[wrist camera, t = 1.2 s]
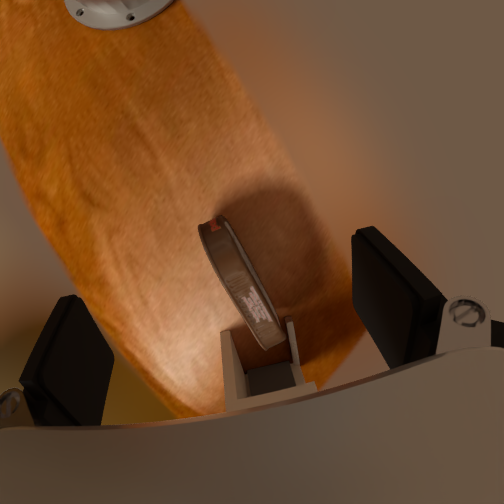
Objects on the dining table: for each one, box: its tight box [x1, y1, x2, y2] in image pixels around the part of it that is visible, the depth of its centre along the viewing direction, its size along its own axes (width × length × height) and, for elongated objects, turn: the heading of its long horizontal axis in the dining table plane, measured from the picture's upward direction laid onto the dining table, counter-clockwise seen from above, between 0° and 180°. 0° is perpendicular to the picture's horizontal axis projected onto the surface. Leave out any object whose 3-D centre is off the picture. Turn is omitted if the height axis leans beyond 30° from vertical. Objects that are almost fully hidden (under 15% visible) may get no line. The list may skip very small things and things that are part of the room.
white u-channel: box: [220, 316, 318, 412], centre depth 36 cm, size 10×9×12 cm
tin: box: [198, 216, 286, 350], centre depth 32 cm, size 15×3×8 cm, turn 24°
